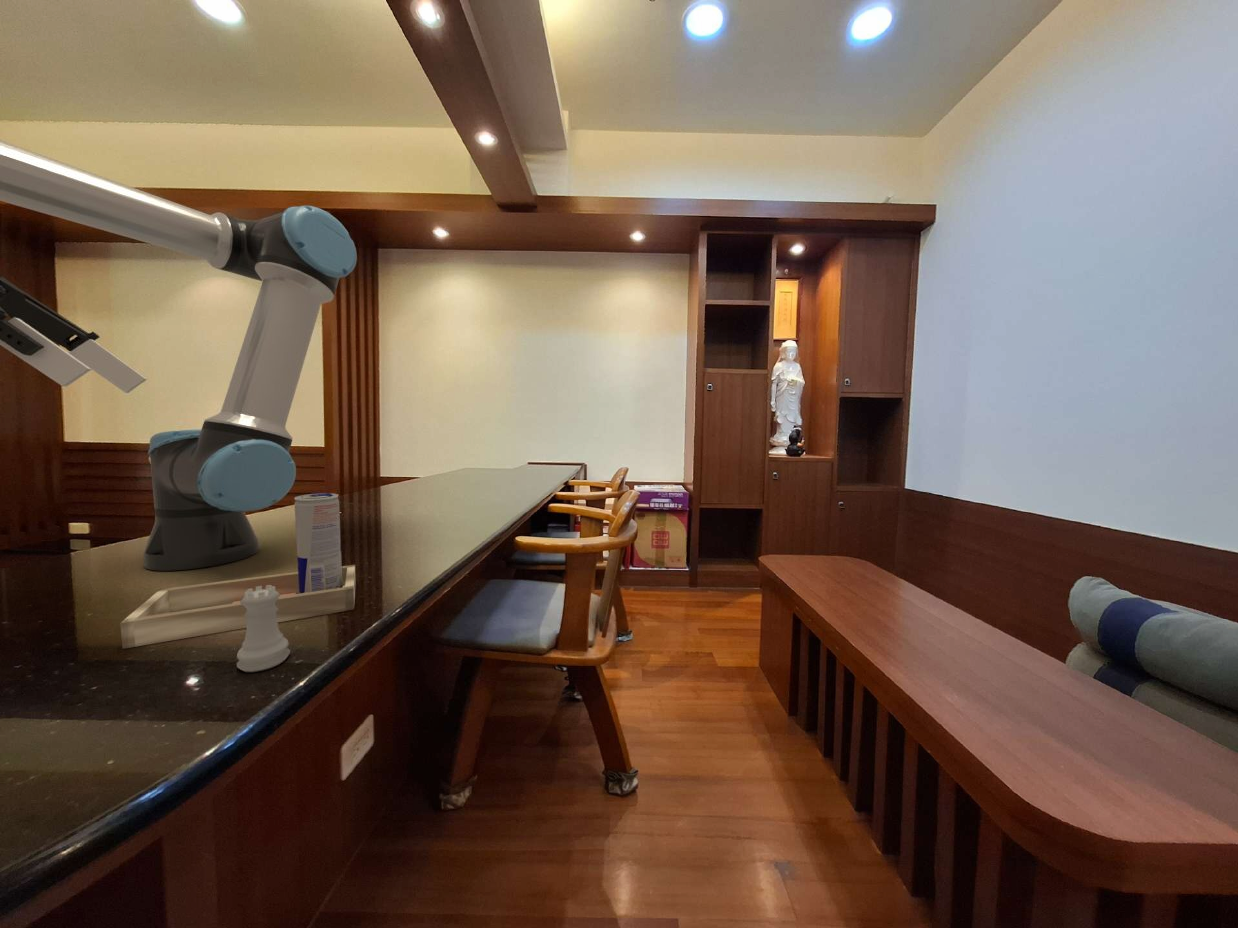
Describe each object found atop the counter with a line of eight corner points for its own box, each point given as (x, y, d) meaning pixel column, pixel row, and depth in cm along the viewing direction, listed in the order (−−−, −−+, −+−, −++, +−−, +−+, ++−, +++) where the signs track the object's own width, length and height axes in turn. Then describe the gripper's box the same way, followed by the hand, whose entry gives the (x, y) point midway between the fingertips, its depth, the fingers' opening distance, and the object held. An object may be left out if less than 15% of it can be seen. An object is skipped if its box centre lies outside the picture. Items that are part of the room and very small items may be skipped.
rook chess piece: (260, 676, 44) (255, 600, 43) (224, 670, 44) (219, 595, 44) (301, 653, 48) (297, 583, 47) (268, 648, 49) (263, 580, 48)
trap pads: (233, 603, 60) (233, 601, 60) (295, 594, 64) (295, 592, 64) (215, 628, 53) (215, 626, 53) (287, 617, 57) (287, 614, 57)
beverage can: (338, 588, 65) (334, 490, 64) (346, 598, 62) (342, 495, 60) (296, 597, 62) (291, 494, 60) (303, 609, 58) (297, 499, 57)
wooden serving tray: (162, 610, 58) (160, 589, 57) (355, 582, 69) (354, 564, 68) (122, 648, 48) (120, 622, 48) (354, 609, 59) (353, 588, 59)
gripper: (-62, 274, 52) (129, 406, 61) (-366, 173, 30) (0, 400, 39) (3, 238, 54) (178, 371, 63) (-237, 120, 32) (82, 346, 41)
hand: (110, 382), depth 51 cm, fingers open, 13 cm apart
